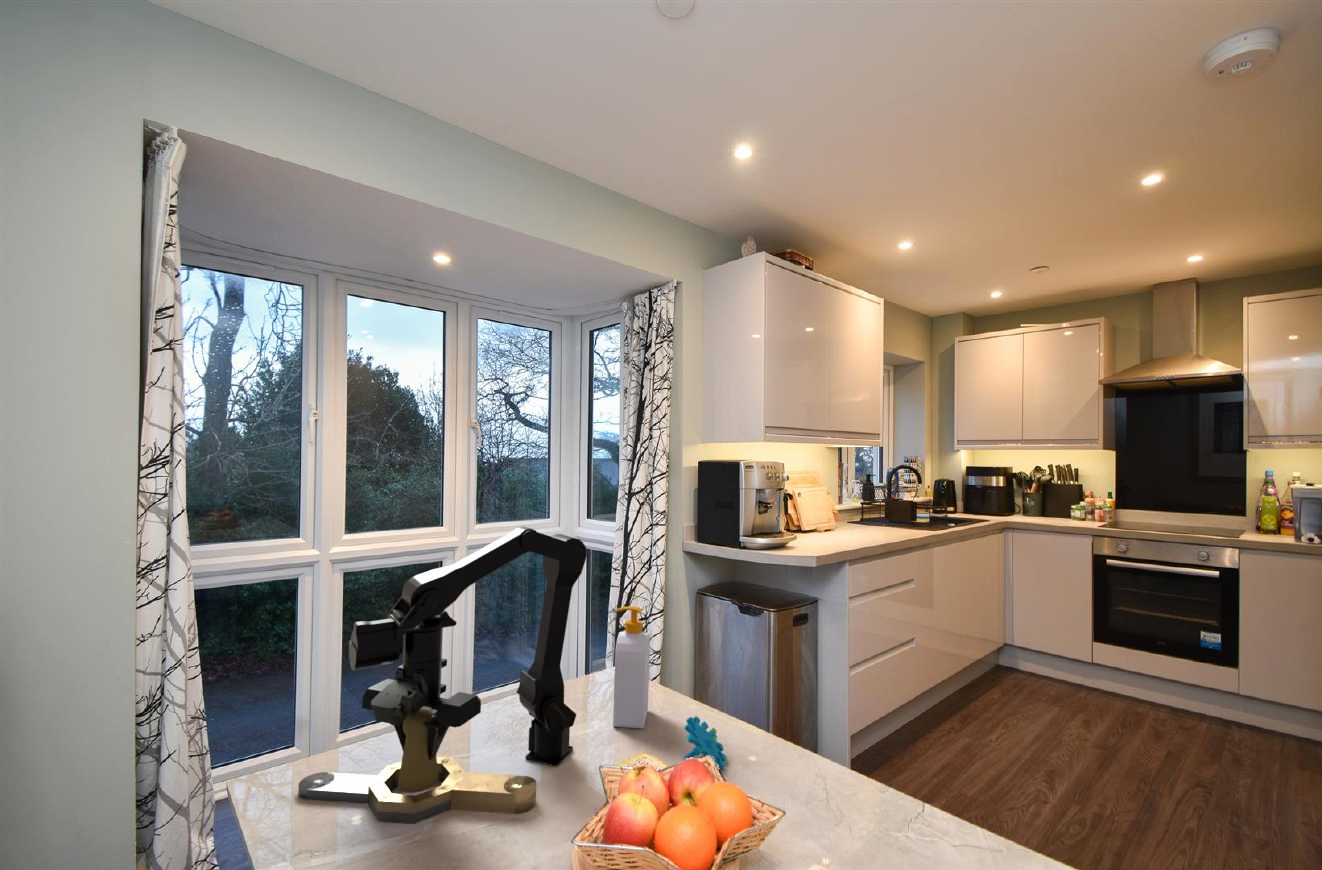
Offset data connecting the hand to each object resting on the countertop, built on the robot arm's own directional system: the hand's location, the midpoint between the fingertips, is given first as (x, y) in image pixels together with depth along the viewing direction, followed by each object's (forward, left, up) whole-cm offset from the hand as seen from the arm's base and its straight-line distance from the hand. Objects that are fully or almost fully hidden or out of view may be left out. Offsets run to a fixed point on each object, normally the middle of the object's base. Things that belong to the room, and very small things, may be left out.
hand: (419, 756), depth 94 cm
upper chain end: (-6, -2, -6) cm, 9 cm away
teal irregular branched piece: (-40, -27, -7) cm, 49 cm away
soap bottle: (-21, -38, -7) cm, 44 cm away
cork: (0, 0, -4) cm, 4 cm away
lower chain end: (+6, +2, -6) cm, 9 cm away
